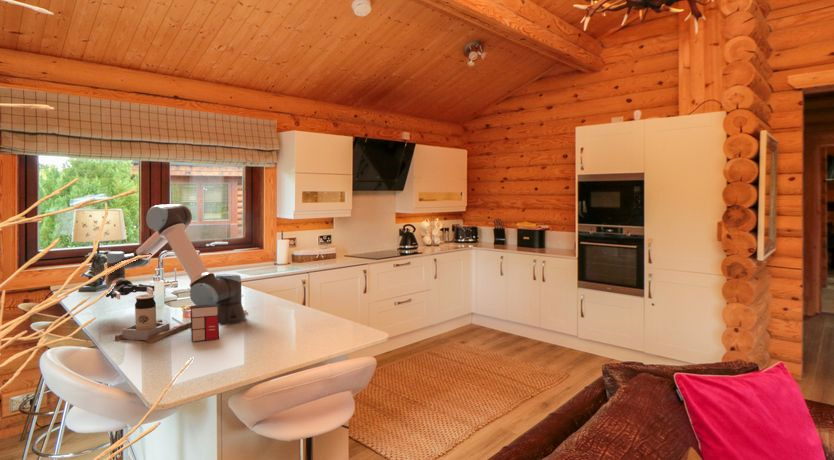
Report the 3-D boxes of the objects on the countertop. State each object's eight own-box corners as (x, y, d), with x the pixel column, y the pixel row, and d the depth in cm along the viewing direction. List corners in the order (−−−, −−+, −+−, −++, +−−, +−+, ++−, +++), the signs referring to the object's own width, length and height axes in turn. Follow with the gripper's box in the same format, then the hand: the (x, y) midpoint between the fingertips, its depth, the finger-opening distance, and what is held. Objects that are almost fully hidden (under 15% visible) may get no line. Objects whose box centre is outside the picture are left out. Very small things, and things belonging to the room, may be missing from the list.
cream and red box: (191, 342, 210) (190, 308, 209) (191, 339, 214) (190, 305, 213) (219, 339, 214) (218, 305, 213) (219, 337, 218) (218, 303, 217)
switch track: (191, 326, 234) (191, 321, 234) (150, 343, 209) (150, 338, 208) (158, 323, 238) (158, 319, 237) (114, 339, 212) (114, 334, 212)
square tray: (169, 331, 223) (169, 323, 223) (148, 340, 211) (147, 331, 210) (144, 329, 226) (144, 321, 226) (122, 338, 213) (121, 329, 213)
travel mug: (143, 333, 222) (141, 293, 221) (160, 333, 222) (159, 294, 220) (132, 338, 214) (130, 297, 213) (150, 339, 214) (148, 298, 213)
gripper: (150, 290, 249) (165, 298, 234) (92, 297, 231) (104, 306, 216) (150, 275, 248) (165, 282, 233) (91, 282, 230) (104, 289, 215)
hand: (136, 294), depth 225 cm, fingers open, 13 cm apart
